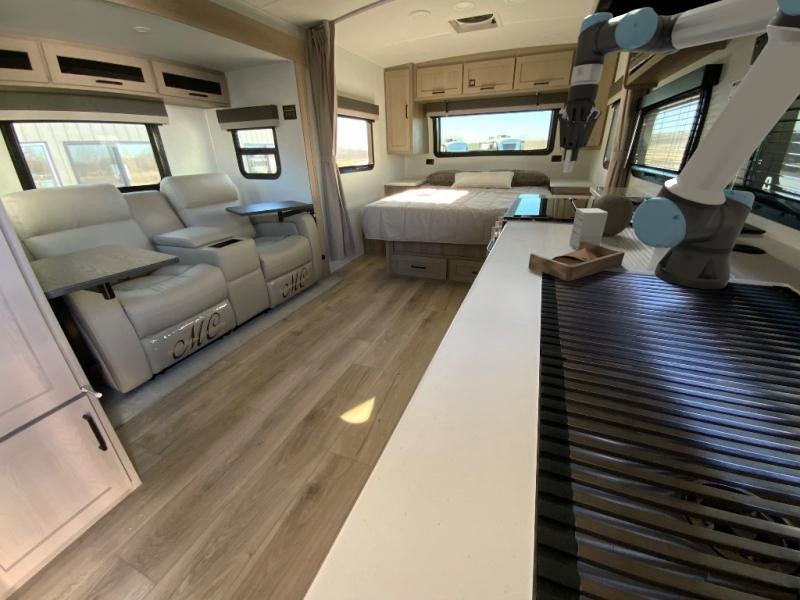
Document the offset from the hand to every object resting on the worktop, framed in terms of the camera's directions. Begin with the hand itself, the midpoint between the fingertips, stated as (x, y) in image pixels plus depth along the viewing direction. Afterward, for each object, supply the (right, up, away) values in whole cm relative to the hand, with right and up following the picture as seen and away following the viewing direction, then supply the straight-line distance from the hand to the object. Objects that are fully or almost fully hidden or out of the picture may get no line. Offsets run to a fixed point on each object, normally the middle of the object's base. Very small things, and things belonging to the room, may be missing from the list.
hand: (567, 172), depth 105 cm
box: (-1, -31, -7) cm, 31 cm away
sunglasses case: (0, -31, -6) cm, 32 cm away
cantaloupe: (+26, -16, +23) cm, 38 cm away
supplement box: (+10, -22, +10) cm, 27 cm away
